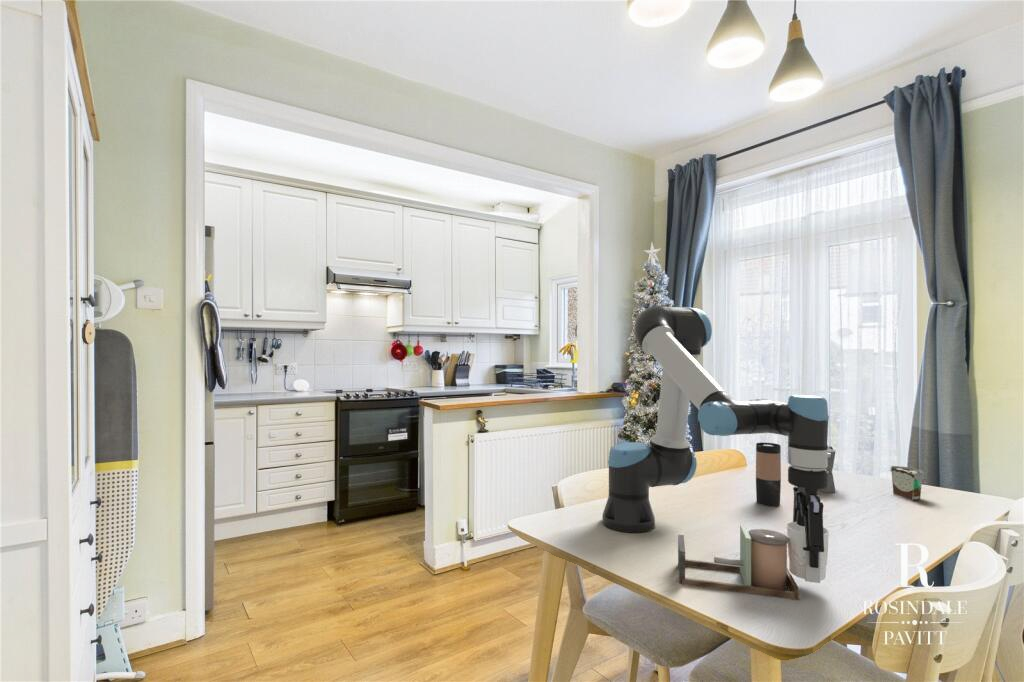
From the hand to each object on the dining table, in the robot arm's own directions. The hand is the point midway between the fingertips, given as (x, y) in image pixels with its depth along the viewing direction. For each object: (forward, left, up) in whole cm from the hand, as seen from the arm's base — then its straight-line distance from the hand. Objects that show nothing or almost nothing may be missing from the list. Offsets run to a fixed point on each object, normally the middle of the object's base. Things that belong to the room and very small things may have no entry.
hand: (807, 573), depth 111 cm
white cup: (0, 0, 0) cm, 0 cm away
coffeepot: (+28, +95, -4) cm, 99 cm away
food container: (+55, +93, -4) cm, 108 cm away
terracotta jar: (-8, 0, -3) cm, 9 cm away
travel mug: (+4, +68, -4) cm, 68 cm away
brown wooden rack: (-15, 0, -3) cm, 15 cm away
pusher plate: (-15, 0, -3) cm, 15 cm away
